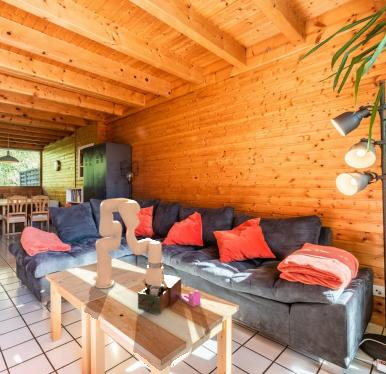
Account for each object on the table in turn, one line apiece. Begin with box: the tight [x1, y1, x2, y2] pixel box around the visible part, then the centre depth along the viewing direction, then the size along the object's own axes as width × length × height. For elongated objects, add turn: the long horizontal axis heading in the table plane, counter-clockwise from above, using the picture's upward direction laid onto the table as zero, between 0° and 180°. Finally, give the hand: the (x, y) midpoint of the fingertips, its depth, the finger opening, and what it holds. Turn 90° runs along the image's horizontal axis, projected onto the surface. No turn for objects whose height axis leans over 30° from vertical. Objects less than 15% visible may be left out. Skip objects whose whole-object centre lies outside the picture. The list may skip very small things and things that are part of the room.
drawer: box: [137, 285, 170, 316], centre depth 139 cm, size 19×13×9 cm
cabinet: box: [162, 274, 182, 307], centre depth 152 cm, size 16×15×11 cm
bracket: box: [179, 290, 201, 307], centre depth 149 cm, size 13×6×7 cm, turn 34°
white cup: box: [150, 286, 159, 296], centre depth 141 cm, size 6×6×6 cm
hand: (154, 296), depth 141 cm, fingers closed on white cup, 5 cm apart
